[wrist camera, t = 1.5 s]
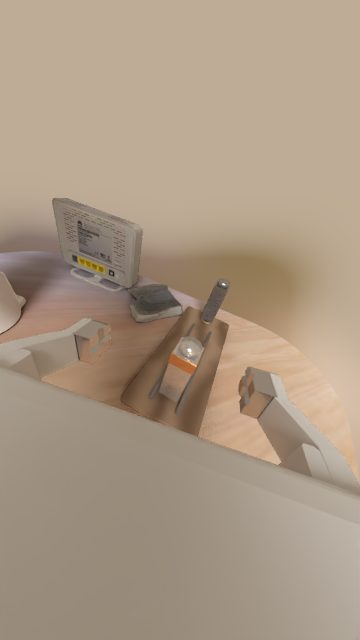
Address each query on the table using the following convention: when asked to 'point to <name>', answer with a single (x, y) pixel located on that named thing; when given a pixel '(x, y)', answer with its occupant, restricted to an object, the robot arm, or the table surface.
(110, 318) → the table surface
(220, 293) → the fixed leg
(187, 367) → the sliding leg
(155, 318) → the fossil
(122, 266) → the network device
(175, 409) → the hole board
